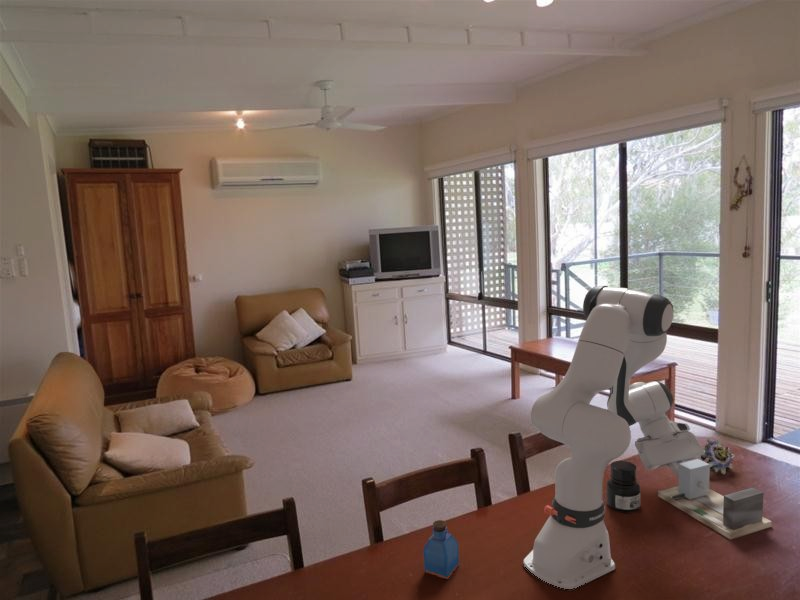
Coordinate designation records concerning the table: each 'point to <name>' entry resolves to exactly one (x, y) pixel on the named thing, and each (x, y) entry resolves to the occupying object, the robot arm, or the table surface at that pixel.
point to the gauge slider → (693, 479)
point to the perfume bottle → (441, 551)
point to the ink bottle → (623, 487)
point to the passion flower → (717, 456)
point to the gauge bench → (718, 501)
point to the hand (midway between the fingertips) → (685, 477)
